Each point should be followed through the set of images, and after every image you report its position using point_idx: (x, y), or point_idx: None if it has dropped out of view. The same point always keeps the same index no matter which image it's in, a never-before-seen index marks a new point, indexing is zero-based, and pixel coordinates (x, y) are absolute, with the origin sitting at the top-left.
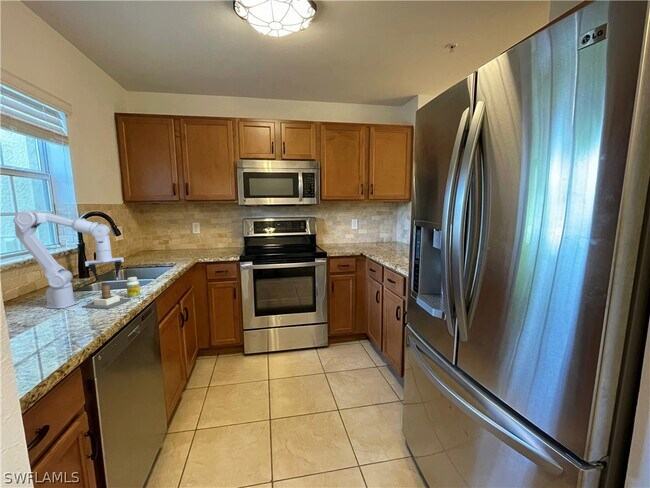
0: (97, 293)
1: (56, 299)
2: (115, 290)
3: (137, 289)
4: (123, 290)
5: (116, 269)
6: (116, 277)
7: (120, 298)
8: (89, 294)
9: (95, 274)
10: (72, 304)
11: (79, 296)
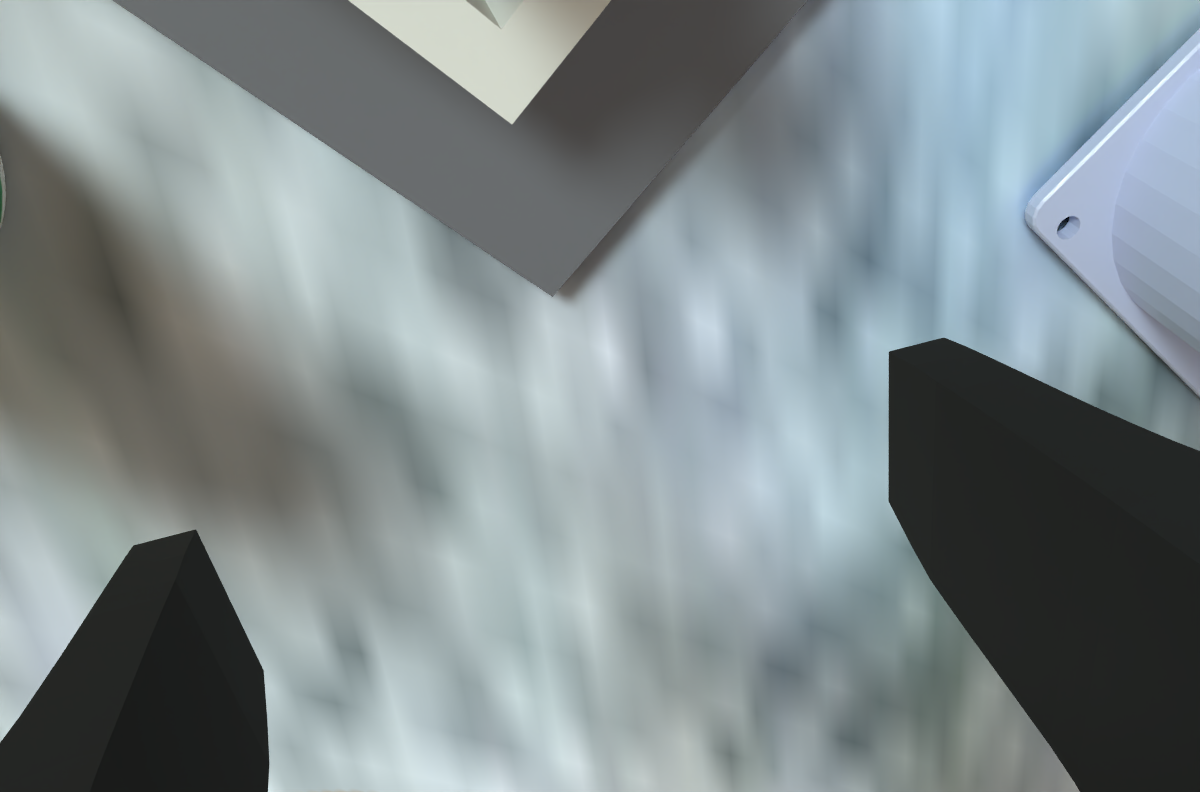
0: (746, 704)
1: None
2: (472, 783)
3: None
4: (317, 748)
5: None
6: (184, 540)
7: (158, 24)
8: (858, 689)
9: (1144, 462)
10: (1160, 80)
11: None
